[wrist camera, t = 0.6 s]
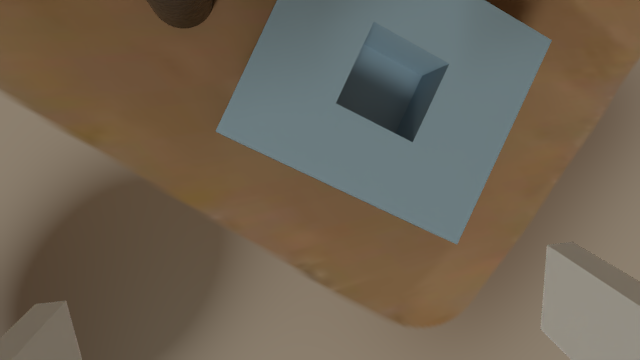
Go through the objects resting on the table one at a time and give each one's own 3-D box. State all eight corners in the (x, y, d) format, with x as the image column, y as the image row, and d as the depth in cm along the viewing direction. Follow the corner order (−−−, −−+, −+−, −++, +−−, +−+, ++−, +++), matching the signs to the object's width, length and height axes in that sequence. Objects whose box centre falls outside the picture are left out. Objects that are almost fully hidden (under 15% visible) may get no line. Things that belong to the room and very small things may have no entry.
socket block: (310, -54, 28) (322, -98, 23) (503, 58, 31) (551, 40, 26) (222, 134, 28) (215, 131, 23) (424, 229, 31) (457, 244, 26)
